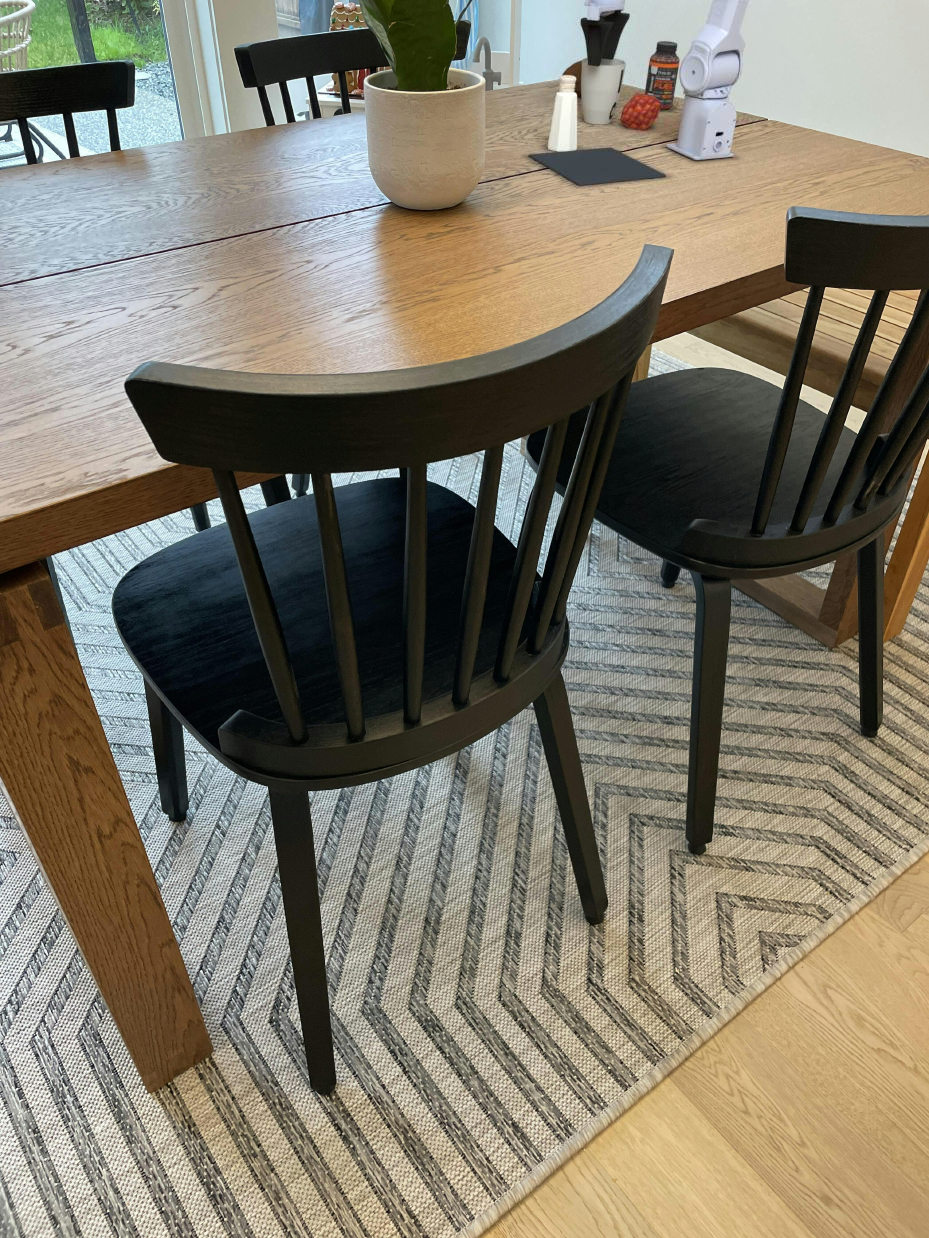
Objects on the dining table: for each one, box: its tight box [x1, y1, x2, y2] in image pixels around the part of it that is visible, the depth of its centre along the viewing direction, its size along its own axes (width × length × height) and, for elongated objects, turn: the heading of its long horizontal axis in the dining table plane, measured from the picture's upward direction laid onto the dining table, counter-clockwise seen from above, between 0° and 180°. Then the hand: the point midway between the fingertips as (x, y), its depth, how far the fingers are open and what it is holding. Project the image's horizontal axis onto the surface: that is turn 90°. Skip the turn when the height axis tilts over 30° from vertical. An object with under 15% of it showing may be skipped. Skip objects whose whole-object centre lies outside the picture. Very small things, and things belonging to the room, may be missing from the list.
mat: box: [528, 146, 667, 187], centre depth 152 cm, size 18×16×1 cm
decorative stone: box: [619, 93, 662, 131], centre depth 172 cm, size 6×7×8 cm
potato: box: [561, 59, 583, 98], centre depth 190 cm, size 7×12×7 cm, turn 117°
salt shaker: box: [546, 75, 578, 152], centre depth 157 cm, size 5×5×11 cm
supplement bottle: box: [644, 40, 681, 111], centre depth 184 cm, size 6×6×11 cm
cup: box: [580, 57, 627, 125], centre depth 173 cm, size 8×8×10 cm
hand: (600, 62), depth 168 cm, fingers open, 7 cm apart
